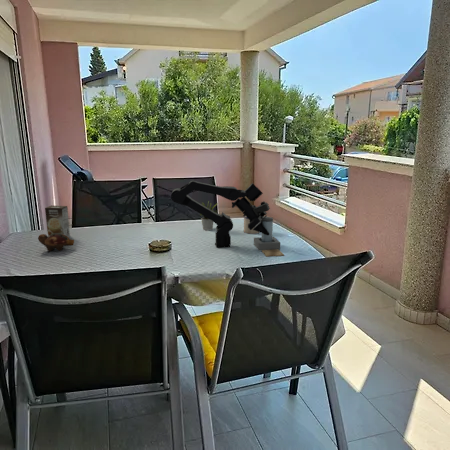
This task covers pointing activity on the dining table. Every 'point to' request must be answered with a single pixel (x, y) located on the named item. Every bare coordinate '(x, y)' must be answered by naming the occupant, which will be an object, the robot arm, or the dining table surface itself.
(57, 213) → the coffee box
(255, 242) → the frame
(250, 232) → the teacup with lid
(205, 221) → the house plant
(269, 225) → the ball
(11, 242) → the dining table surface
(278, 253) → the mat
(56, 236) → the decorative turtle
